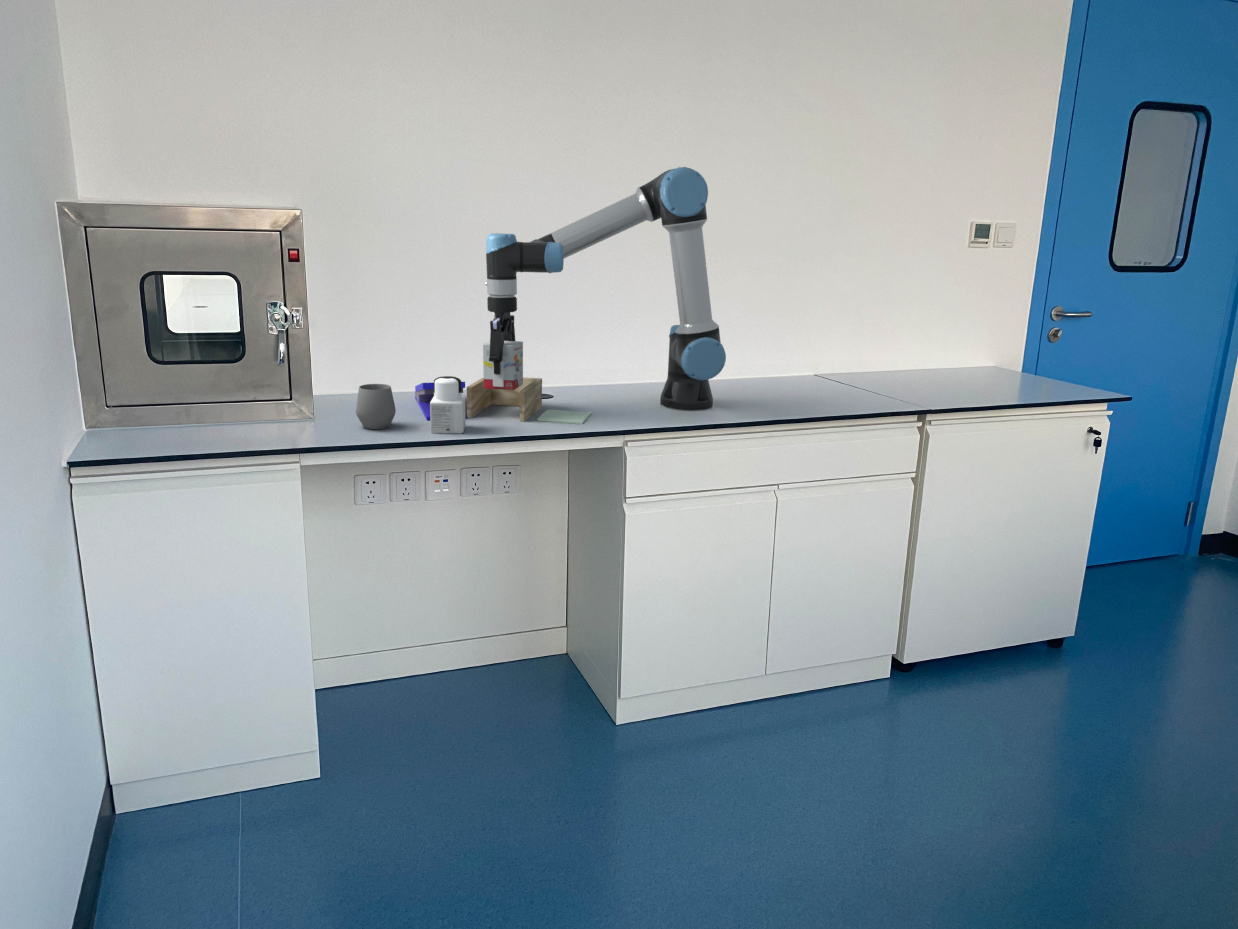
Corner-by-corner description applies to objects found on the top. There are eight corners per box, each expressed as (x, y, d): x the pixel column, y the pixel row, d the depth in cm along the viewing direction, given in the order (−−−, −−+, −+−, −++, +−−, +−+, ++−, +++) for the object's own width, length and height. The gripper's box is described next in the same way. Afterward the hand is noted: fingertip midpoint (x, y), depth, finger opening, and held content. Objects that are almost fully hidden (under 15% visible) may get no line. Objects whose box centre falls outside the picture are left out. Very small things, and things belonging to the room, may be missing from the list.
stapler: (424, 422, 223) (423, 384, 221) (412, 399, 249) (411, 364, 246) (469, 420, 227) (469, 382, 224) (453, 397, 252) (452, 363, 250)
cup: (359, 432, 210) (357, 391, 207) (354, 423, 218) (352, 383, 215) (399, 430, 213) (398, 389, 211) (392, 421, 222) (391, 382, 219)
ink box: (514, 390, 226) (513, 344, 223) (482, 388, 228) (481, 343, 224) (524, 384, 234) (523, 340, 231) (493, 382, 236) (492, 338, 232)
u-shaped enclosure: (541, 406, 243) (542, 378, 241) (524, 421, 226) (524, 391, 224) (488, 403, 246) (488, 374, 243) (466, 417, 228) (466, 387, 226)
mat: (591, 414, 237) (591, 412, 237) (581, 424, 226) (582, 422, 226) (547, 410, 239) (547, 409, 239) (536, 420, 228) (536, 419, 228)
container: (434, 425, 219) (433, 374, 215) (465, 426, 219) (464, 374, 216) (430, 433, 211) (429, 380, 208) (462, 433, 212) (462, 380, 208)
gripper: (500, 291, 235) (501, 374, 241) (474, 299, 215) (477, 390, 221) (527, 292, 234) (528, 376, 240) (504, 300, 214) (505, 391, 220)
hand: (503, 382), depth 231 cm, fingers closed on ink box, 9 cm apart
